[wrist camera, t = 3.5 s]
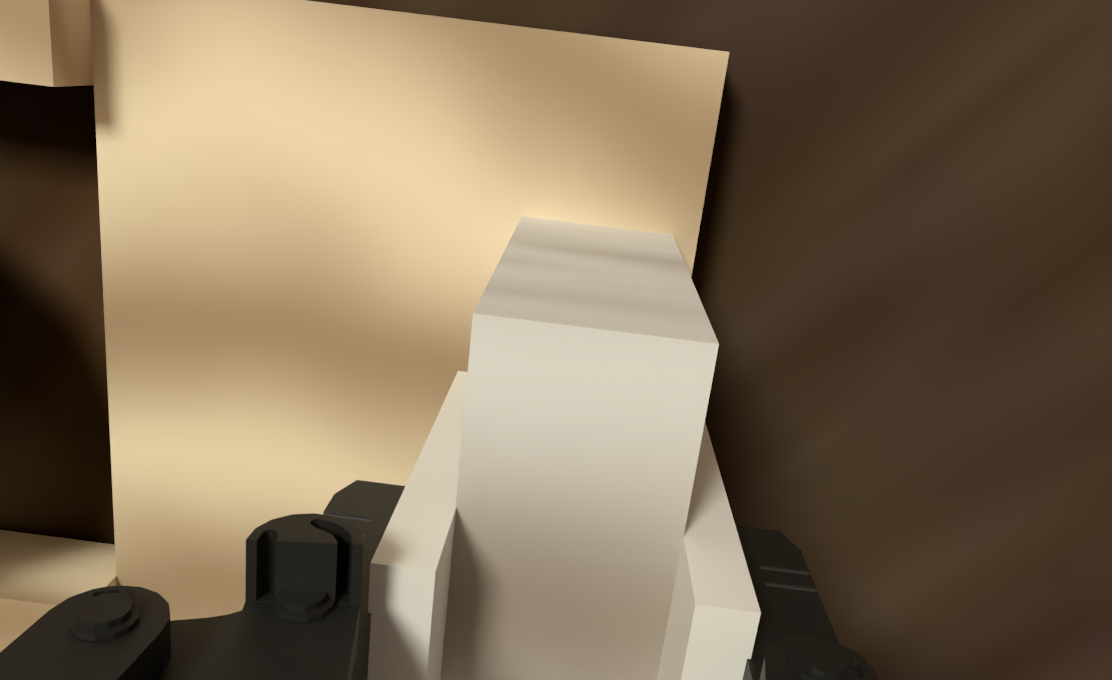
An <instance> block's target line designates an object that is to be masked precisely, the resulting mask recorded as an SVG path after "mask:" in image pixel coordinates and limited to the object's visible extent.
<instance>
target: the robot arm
mask: <svg viewBox="0 0 1112 680" xmlns="http://www.w3.org/2000/svg"><path fill="white" fill-rule="evenodd" d="M467 373H468V372H464V371H458V372H457V374H456V376H455V379H454V381H453V383H452V385H451V387H450V390H449V392H448V394H447V396H446V398H445V400H444V403H443V405H442V407H441V409H440V411H439V414H438V416H437V418H436V420H435V422H434V425H433V427H432V429H431V431H430V433H429V436H428V438H427V440H426V442H425V444H424V447H423V449H422V451H421V453H420V455H419V458H418V460H417V462H416V464H415V466H414V469H413V471H412V473H411V475H410V477H409V479H408V482H407V484H406V486H401V485H393V484H385V483H377V482H370V481H362V480H356V481H355V482H353V483H351V484H350V485H348V486H346V487H345V488H343V489H342V490H340V491H338V492H337V493H335V494H334V495H333V497H332V499H331V500H330V502H329V504H328V505H327V507H326V508H325V510H324V512H323V515H322V514H315V513H311V514H292V515H288V516H284V517H280V518H276V519H272V520H270V521H268V522H266V523H264V524H262V525H261V526H259V527H257V528H255V529H254V531H253V532H252V533H251V534H250V535H249V537H248V538H247V539H246V591H245V604H244V606H243V609H242V610H241V611H238V612H235V613H231V614H228V615H222V616H216V617H209V618H197V619H185V620H173V621H170V609H169V603H168V602H167V601H166V600H165V599H164V598H163V597H162V596H161V595H160V594H159V593H157V592H154V591H151V590H148V589H145V588H143V587H136V586H120V585H117V586H109V587H101V588H96V589H92V590H89V591H86V592H83V593H80V594H77V595H75V596H72V597H69V598H68V599H66V600H64V601H63V602H61V603H60V604H58V605H56V606H55V607H53V608H52V609H50V610H49V611H48V612H47V613H45V614H44V615H43V616H42V617H41V618H40V619H38V620H37V621H36V622H35V623H34V624H33V625H31V626H30V627H29V628H28V629H27V630H26V631H24V632H23V633H22V634H21V635H20V636H19V637H17V638H16V639H15V640H14V641H13V642H12V643H10V644H9V645H8V646H7V647H6V648H5V649H3V650H2V651H1V652H0V680H440V679H441V669H442V658H443V647H444V636H445V625H446V613H447V602H448V591H449V580H450V569H451V558H452V547H453V536H454V525H455V514H456V507H455V506H456V495H457V484H458V473H459V462H460V451H461V440H462V429H463V418H464V407H465V395H466V384H467ZM657 680H878V678H877V676H876V675H875V673H874V671H873V669H872V667H871V666H870V665H869V664H868V663H867V662H866V661H865V660H864V659H862V658H861V657H860V656H859V655H858V654H857V653H855V652H854V651H852V650H850V649H848V648H847V647H845V646H843V645H841V644H840V643H838V641H837V638H836V636H835V634H834V631H833V629H832V626H831V624H830V621H829V619H828V617H827V614H826V612H825V609H824V607H823V604H822V602H821V599H820V597H819V595H818V592H816V587H815V585H814V582H813V580H812V578H811V575H809V570H808V568H807V565H806V563H805V560H804V558H803V556H802V553H801V551H800V550H799V549H798V548H797V547H796V546H795V545H794V544H793V543H792V542H791V541H790V540H789V539H788V538H786V537H785V536H784V535H783V534H782V533H781V532H780V531H773V530H766V529H758V528H750V527H742V526H735V522H734V519H733V515H732V512H731V509H730V505H729V502H728V498H727V495H726V491H725V488H724V485H723V481H722V478H721V474H720V471H719V467H718V464H717V461H716V457H715V454H714V450H713V447H712V443H711V440H710V437H709V433H708V430H707V426H706V423H704V429H703V434H702V440H701V445H700V451H699V456H698V462H697V467H696V473H695V478H694V483H693V489H692V494H691V500H690V505H689V511H688V516H687V522H686V527H685V533H684V536H683V541H682V547H681V552H680V557H679V563H678V568H677V574H676V579H675V585H674V590H673V596H672V601H671V607H670V612H669V618H668V623H667V628H666V634H665V639H664V645H663V650H662V656H661V661H660V667H659V672H658V678H657Z"/></svg>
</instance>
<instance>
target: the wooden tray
mask: <svg viewBox="0 0 1112 680" xmlns="http://www.w3.org/2000/svg"><path fill="white" fill-rule="evenodd" d="M728 57H729V52H725V51H716V50H708V49H700V48H692V47H684V46H675V45H667V44H659V43H651V42H643V41H634V40H626V39H618V38H610V37H602V36H593V35H585V34H577V33H569V32H561V31H552V30H544V29H536V28H528V27H520V26H511V25H503V24H495V23H487V22H478V21H470V20H462V19H454V18H446V17H437V16H429V15H421V14H413V13H405V12H396V11H388V10H380V9H372V8H364V7H355V6H347V5H339V4H331V3H323V2H314V1H306V0H0V80H1V81H9V82H17V83H25V84H34V85H42V86H50V87H64V86H85V85H94V103H95V124H96V146H97V168H98V190H99V211H100V233H101V255H102V276H103V298H104V320H105V342H106V363H107V385H108V407H109V429H110V450H111V472H112V494H113V515H114V537H115V545H114V544H106V543H99V542H91V541H83V540H75V539H68V538H60V537H52V536H44V535H36V534H29V533H21V532H13V531H5V530H0V652H1V651H2V650H3V649H5V648H6V647H7V646H8V645H9V644H10V643H12V642H13V641H14V640H15V639H16V638H17V637H19V636H20V635H21V634H22V633H23V632H24V631H26V630H27V629H28V628H29V627H30V626H31V625H33V624H34V623H35V622H36V621H37V620H38V619H40V618H41V617H42V616H43V615H44V614H45V613H47V612H48V611H49V610H50V609H52V608H53V607H55V606H56V605H58V604H60V603H61V602H63V601H64V600H66V599H68V598H69V597H72V596H75V595H77V594H80V593H83V592H86V591H89V590H92V589H96V588H101V587H109V586H117V585H120V586H136V587H143V588H145V589H148V590H151V591H154V592H157V593H159V594H160V595H161V596H162V597H163V598H164V599H165V600H166V601H167V602H168V603H169V609H170V621H173V620H185V619H197V618H209V617H216V616H222V615H228V614H231V613H235V612H238V611H241V610H242V609H243V606H244V604H245V591H246V539H247V538H248V537H249V535H250V534H251V533H252V532H253V531H254V529H255V528H257V527H259V526H261V525H262V524H264V523H266V522H268V521H270V520H272V519H276V518H280V517H284V516H288V515H292V514H311V513H315V514H322V515H323V512H324V510H325V508H326V507H327V505H328V504H329V502H330V500H331V499H332V497H333V495H334V494H335V493H337V492H338V491H340V490H342V489H343V488H345V487H346V486H348V485H350V484H351V483H353V482H355V481H356V480H362V481H370V482H377V483H385V484H393V485H401V486H406V484H407V482H408V479H409V477H410V475H411V473H412V471H413V469H414V466H415V464H416V462H417V460H418V458H419V455H420V453H421V451H422V449H423V447H424V444H425V442H426V440H427V438H428V436H429V433H430V431H431V429H432V427H433V425H434V422H435V420H436V418H437V416H438V414H439V411H440V409H441V407H442V405H443V403H444V400H445V398H446V396H447V394H448V392H449V390H450V387H451V385H452V383H453V381H454V379H455V376H456V374H457V372H458V371H464V372H468V373H467V384H466V395H465V407H464V418H463V429H462V440H461V451H460V462H459V473H458V484H457V495H456V506H455V507H456V514H455V525H454V536H453V547H452V558H451V569H450V580H449V591H448V602H447V613H446V625H445V636H444V647H443V658H442V669H441V679H440V680H657V678H658V672H659V667H660V661H661V656H662V650H663V645H664V639H665V634H666V628H667V623H668V618H669V612H670V607H671V601H672V596H673V590H674V585H675V579H676V574H677V568H678V563H679V557H680V552H681V547H682V541H683V536H684V533H685V527H686V522H687V516H688V511H689V505H690V500H691V494H692V489H693V483H694V478H695V473H696V467H697V462H698V456H699V451H700V445H701V440H702V434H703V429H704V423H705V418H706V413H707V407H708V402H709V396H710V391H711V385H712V380H713V374H714V369H715V363H716V358H717V353H718V347H719V343H718V340H717V338H716V336H715V333H714V331H713V329H712V326H711V324H710V322H709V319H708V317H707V314H706V312H705V310H704V307H703V305H702V303H701V300H700V298H699V295H698V293H697V291H696V288H695V286H694V284H693V281H692V279H691V276H692V271H693V265H694V259H695V253H696V247H697V241H698V235H699V229H700V223H701V217H702V211H703V205H704V199H705V194H706V188H707V182H708V176H709V170H710V164H711V158H712V152H713V146H714V140H715V134H716V128H717V122H718V116H719V111H720V105H721V99H722V93H723V87H724V81H725V75H726V69H727V63H728Z"/></svg>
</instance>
